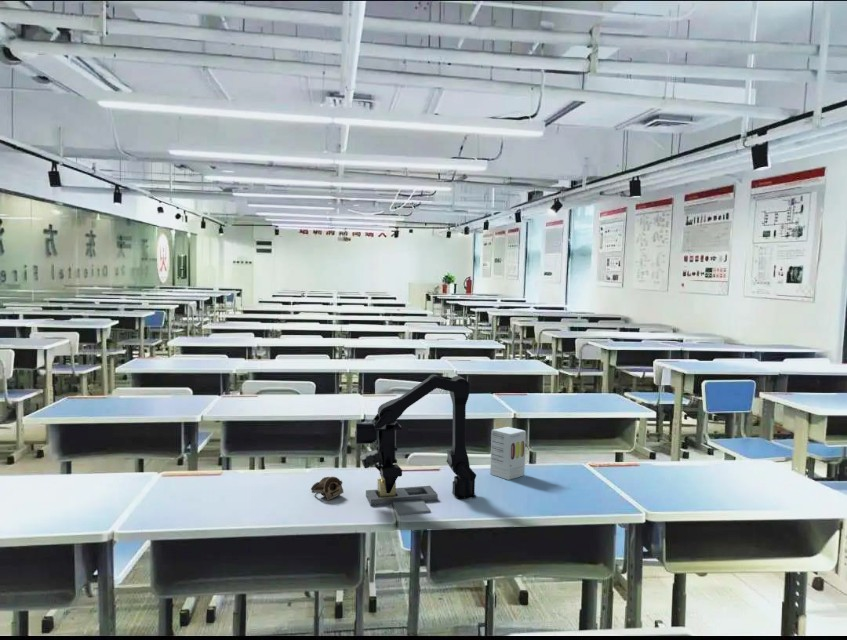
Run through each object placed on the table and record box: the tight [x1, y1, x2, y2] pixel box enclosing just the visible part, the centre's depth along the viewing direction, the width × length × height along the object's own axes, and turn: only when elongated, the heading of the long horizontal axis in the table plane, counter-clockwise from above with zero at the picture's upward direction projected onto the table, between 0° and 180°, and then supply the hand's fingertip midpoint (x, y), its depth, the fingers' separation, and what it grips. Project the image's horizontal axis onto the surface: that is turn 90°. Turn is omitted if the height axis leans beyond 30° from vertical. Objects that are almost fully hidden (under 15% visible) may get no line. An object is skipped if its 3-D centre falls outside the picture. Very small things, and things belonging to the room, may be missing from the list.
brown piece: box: [310, 476, 344, 501], centre depth 208 cm, size 7×13×10 cm
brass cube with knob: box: [376, 475, 397, 498], centre depth 204 cm, size 5×5×8 cm
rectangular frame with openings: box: [365, 485, 439, 507], centre depth 206 cm, size 22×9×2 cm, turn 105°
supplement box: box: [489, 426, 527, 481], centre depth 232 cm, size 10×9×17 cm
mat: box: [391, 500, 432, 516], centre depth 197 cm, size 10×10×1 cm
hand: (386, 490), depth 204 cm, fingers closed on brass cube with knob, 5 cm apart
